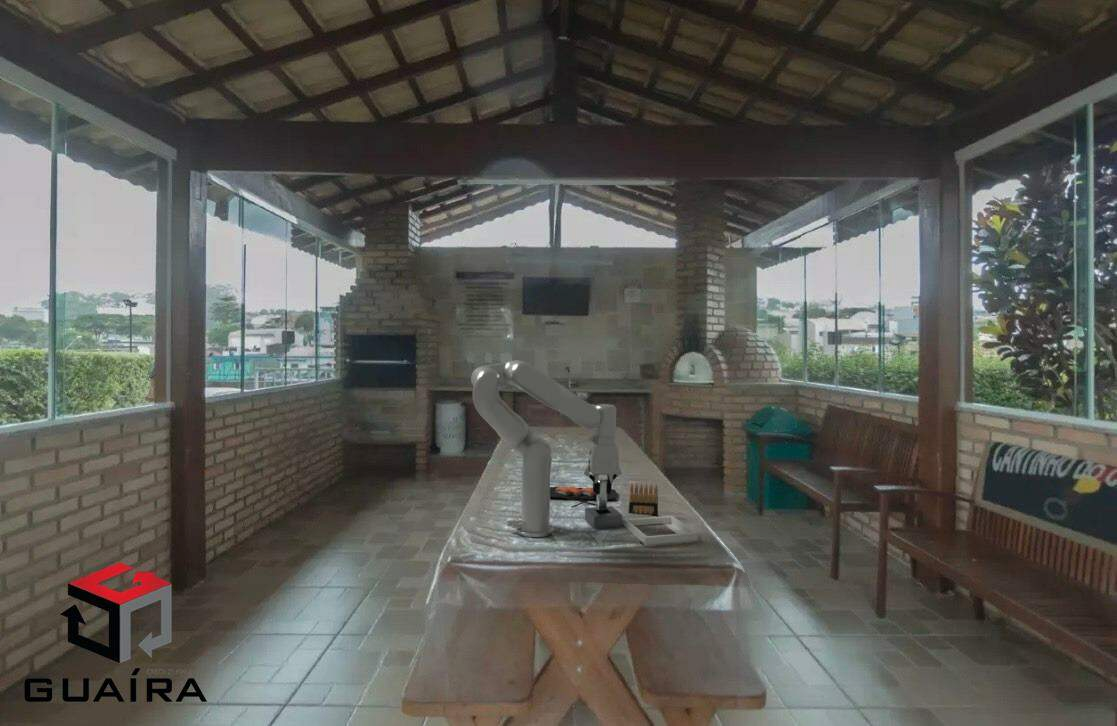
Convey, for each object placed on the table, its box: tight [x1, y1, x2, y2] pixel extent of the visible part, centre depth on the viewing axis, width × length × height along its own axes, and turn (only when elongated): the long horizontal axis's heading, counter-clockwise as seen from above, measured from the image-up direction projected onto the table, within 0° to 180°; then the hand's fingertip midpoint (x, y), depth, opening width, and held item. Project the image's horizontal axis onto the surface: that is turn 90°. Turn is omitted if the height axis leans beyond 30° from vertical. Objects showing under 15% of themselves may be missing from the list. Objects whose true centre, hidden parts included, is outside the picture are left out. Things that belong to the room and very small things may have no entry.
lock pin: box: [595, 478, 608, 510], centre depth 200 cm, size 4×4×10 cm
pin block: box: [584, 505, 623, 530], centre depth 201 cm, size 10×10×5 cm
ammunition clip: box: [628, 482, 659, 517], centre depth 212 cm, size 11×2×12 cm, turn 83°
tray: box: [623, 515, 698, 548], centre depth 192 cm, size 18×18×3 cm
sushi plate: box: [550, 486, 617, 508], centre depth 230 cm, size 29×30×4 cm
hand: (602, 492), depth 200 cm, fingers closed on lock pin, 3 cm apart
